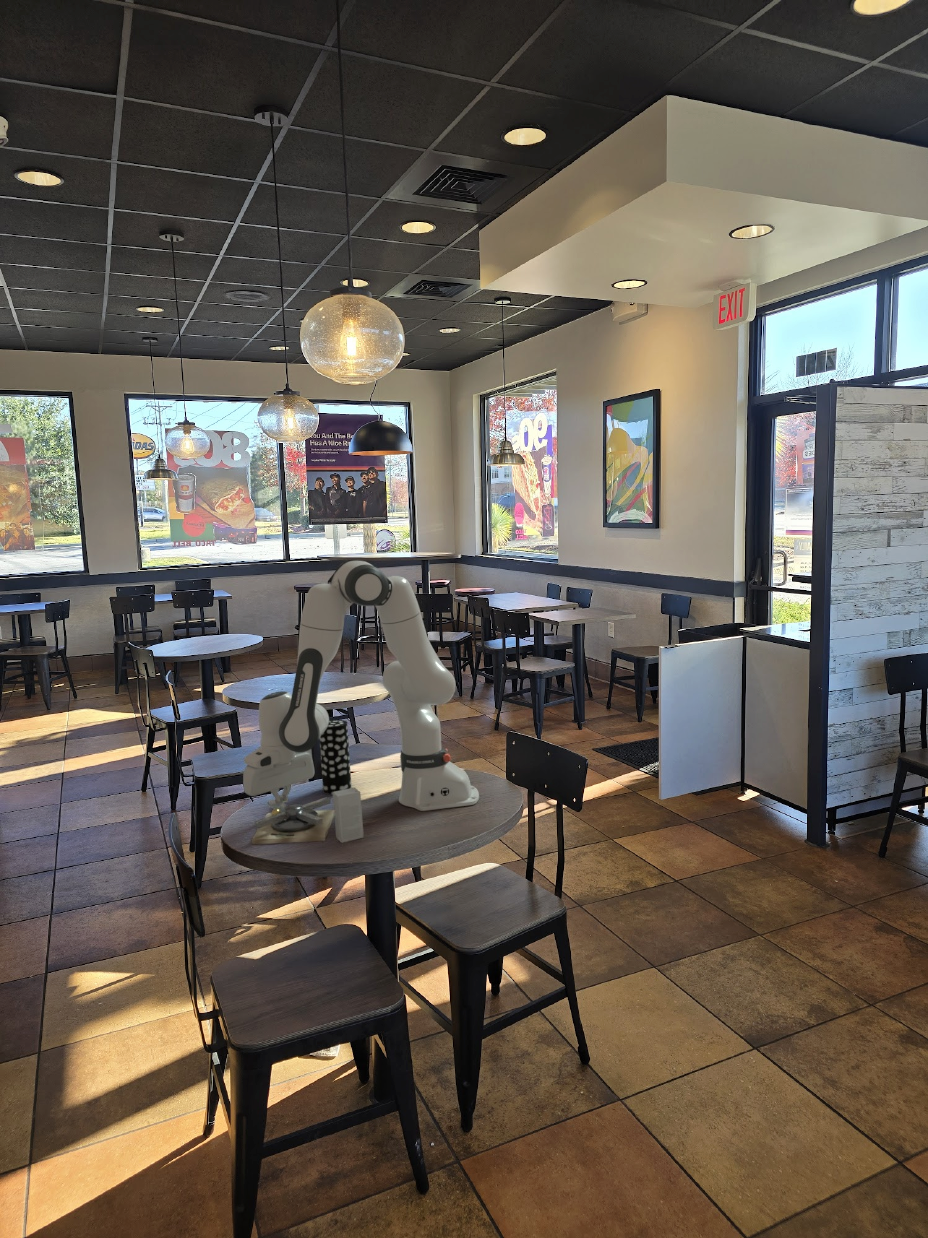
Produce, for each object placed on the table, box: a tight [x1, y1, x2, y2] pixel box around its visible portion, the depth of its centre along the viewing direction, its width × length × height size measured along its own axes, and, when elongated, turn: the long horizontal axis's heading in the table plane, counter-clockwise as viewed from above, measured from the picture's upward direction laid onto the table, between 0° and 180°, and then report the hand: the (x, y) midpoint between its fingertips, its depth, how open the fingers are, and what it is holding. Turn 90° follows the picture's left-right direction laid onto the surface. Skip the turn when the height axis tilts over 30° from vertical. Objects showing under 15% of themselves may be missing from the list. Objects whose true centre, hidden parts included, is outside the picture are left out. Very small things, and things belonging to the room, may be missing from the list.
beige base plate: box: [251, 809, 335, 845], centre depth 206 cm, size 18×18×1 cm
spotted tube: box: [319, 719, 352, 795], centre depth 234 cm, size 8×8×20 cm
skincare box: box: [332, 786, 365, 843], centre depth 198 cm, size 6×4×12 cm
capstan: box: [254, 796, 331, 832], centre depth 206 cm, size 17×17×4 cm
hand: (281, 802), depth 214 cm, fingers closed
